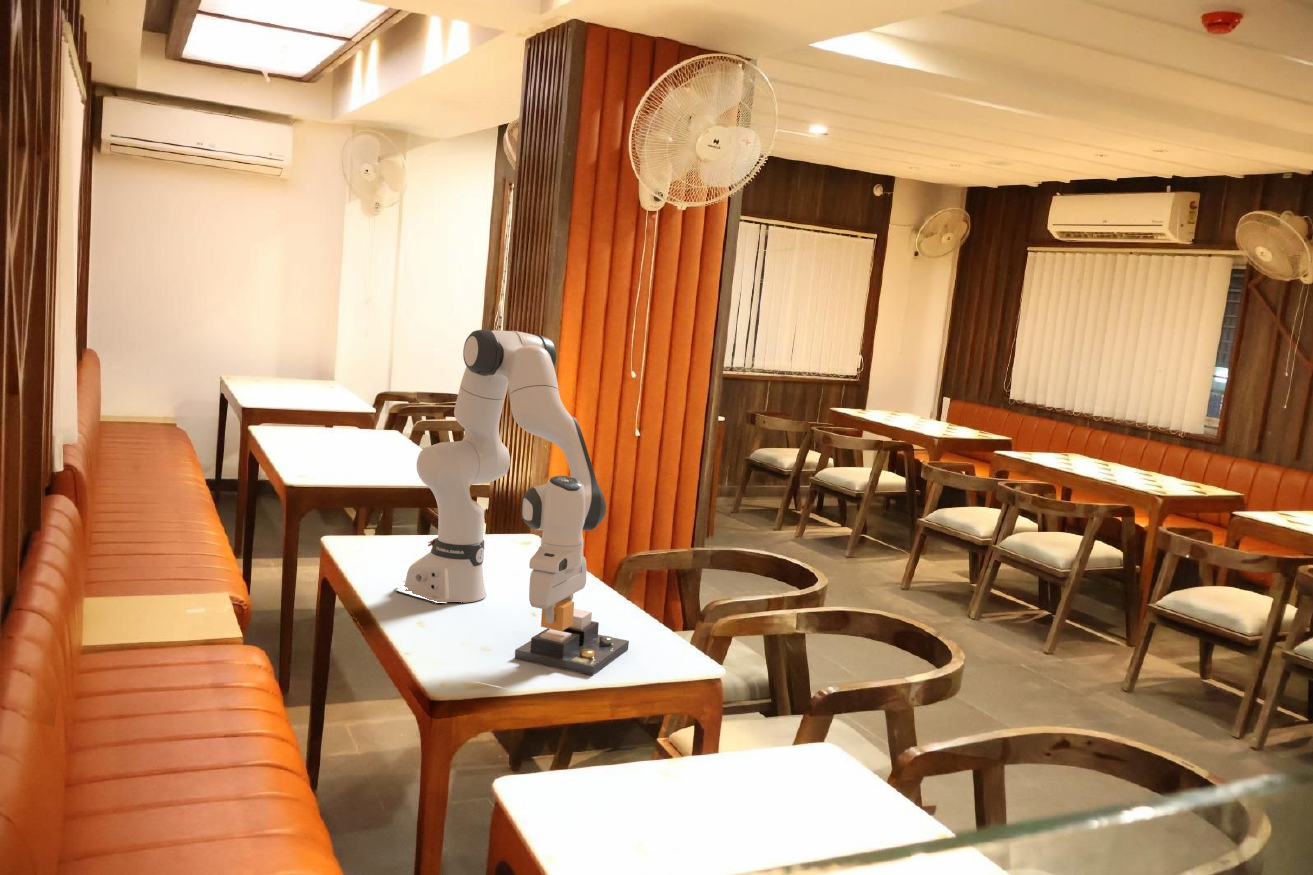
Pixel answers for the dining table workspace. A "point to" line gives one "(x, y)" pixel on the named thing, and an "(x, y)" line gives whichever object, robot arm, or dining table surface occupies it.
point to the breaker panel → (574, 650)
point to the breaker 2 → (581, 619)
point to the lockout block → (560, 616)
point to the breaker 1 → (555, 635)
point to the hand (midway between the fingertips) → (557, 618)
